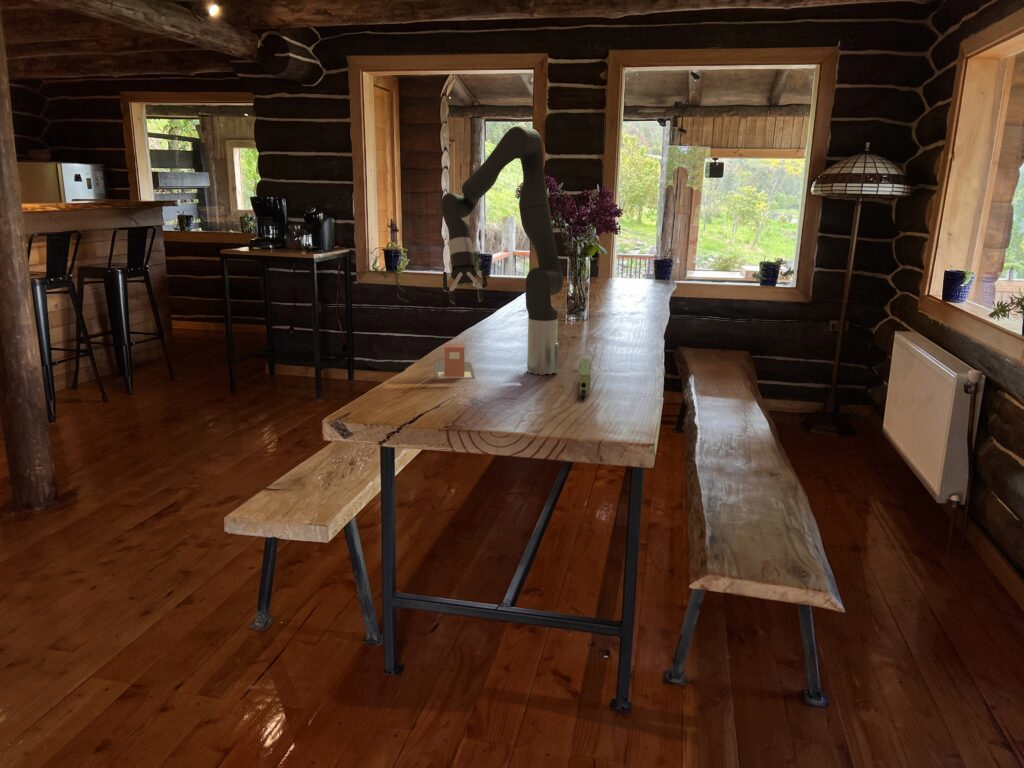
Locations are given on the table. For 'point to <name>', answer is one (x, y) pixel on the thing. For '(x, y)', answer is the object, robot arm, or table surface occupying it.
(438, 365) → the pin board
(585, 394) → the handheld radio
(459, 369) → the block
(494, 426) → the table surface
